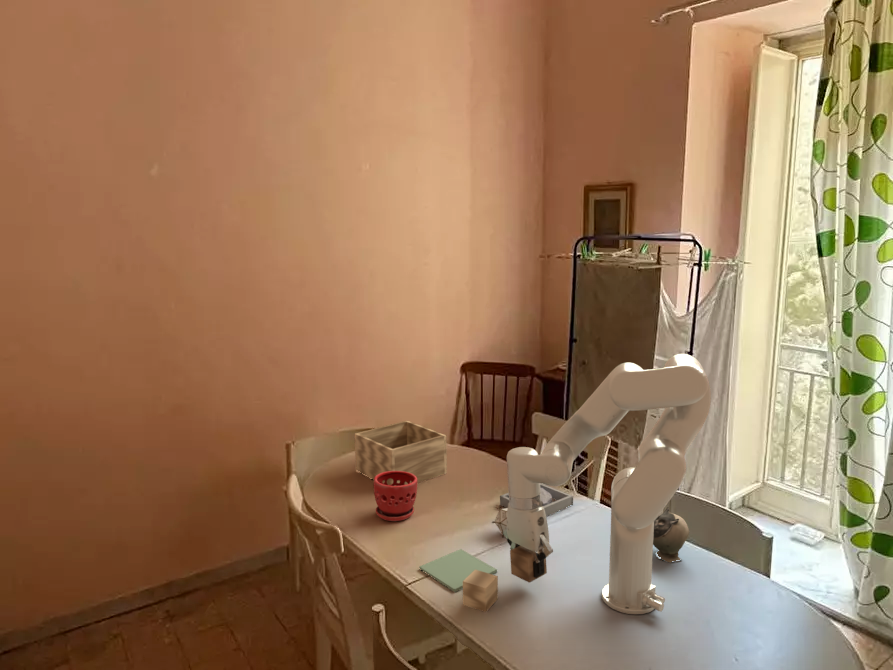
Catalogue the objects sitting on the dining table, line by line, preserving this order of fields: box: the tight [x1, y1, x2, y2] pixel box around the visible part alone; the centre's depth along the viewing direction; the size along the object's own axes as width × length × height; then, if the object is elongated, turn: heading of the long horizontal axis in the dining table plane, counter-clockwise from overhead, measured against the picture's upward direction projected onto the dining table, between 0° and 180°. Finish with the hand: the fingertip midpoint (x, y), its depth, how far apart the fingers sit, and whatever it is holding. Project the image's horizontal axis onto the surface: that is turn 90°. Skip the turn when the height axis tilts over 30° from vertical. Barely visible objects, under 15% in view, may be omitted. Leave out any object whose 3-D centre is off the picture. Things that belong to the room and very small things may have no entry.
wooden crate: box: [354, 420, 448, 485], centre depth 235 cm, size 23×23×14 cm
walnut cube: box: [509, 546, 548, 584], centre depth 161 cm, size 6×6×6 cm
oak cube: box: [462, 570, 499, 613], centre depth 156 cm, size 6×6×6 cm
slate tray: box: [499, 483, 574, 517], centre depth 208 cm, size 15×17×3 cm
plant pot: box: [373, 471, 418, 522], centre depth 201 cm, size 13×13×12 cm
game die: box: [491, 506, 508, 538], centre depth 189 cm, size 9×8×10 cm
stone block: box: [540, 488, 553, 506], centre depth 209 cm, size 12×5×10 cm
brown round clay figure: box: [653, 506, 690, 563], centre depth 175 cm, size 10×12×10 cm
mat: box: [419, 548, 498, 593], centre depth 170 cm, size 14×14×1 cm
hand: (528, 570), depth 161 cm, fingers closed on walnut cube, 6 cm apart
